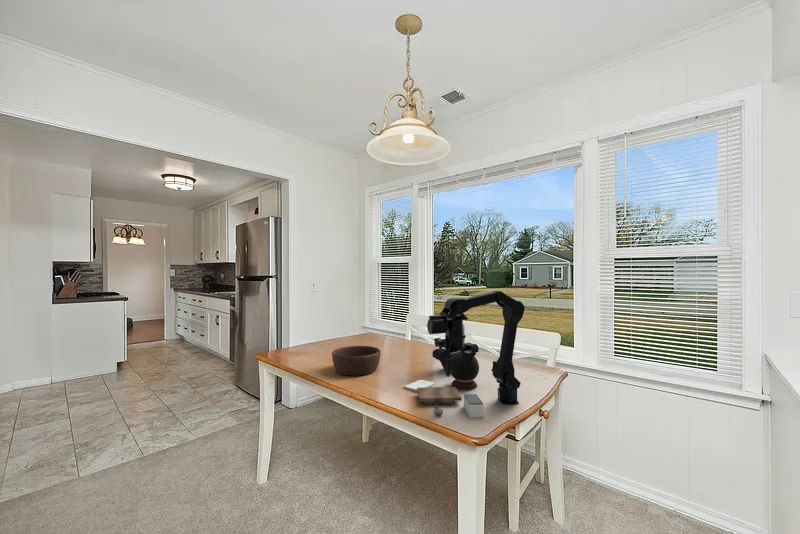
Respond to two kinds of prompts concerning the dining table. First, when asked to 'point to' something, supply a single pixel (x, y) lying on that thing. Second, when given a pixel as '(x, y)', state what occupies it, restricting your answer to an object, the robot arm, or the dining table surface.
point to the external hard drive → (418, 385)
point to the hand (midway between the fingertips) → (456, 373)
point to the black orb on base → (463, 373)
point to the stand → (438, 395)
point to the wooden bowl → (356, 360)
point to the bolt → (438, 411)
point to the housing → (473, 405)
